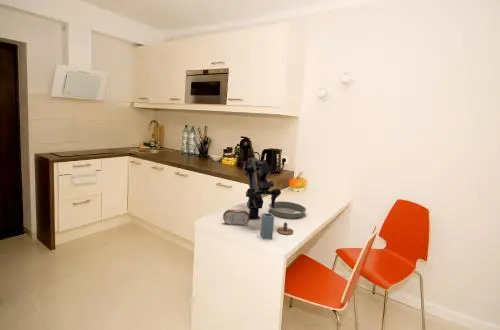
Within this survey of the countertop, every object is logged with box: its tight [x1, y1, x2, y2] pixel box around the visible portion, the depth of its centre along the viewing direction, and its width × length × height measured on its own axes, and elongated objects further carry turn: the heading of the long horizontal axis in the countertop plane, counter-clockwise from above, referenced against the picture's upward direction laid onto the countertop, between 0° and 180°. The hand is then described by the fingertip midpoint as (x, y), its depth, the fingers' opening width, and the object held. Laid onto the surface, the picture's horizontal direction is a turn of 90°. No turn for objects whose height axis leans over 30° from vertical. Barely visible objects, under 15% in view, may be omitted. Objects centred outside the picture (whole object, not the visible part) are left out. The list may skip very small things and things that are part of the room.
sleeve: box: [259, 212, 275, 240], centre depth 149 cm, size 5×5×12 cm
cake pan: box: [268, 200, 307, 220], centre depth 190 cm, size 25×25×4 cm
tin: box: [222, 209, 251, 226], centre depth 163 cm, size 15×3×8 cm, turn 92°
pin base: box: [276, 221, 294, 236], centre depth 158 cm, size 9×9×5 cm
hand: (264, 207), depth 155 cm, fingers open, 9 cm apart
